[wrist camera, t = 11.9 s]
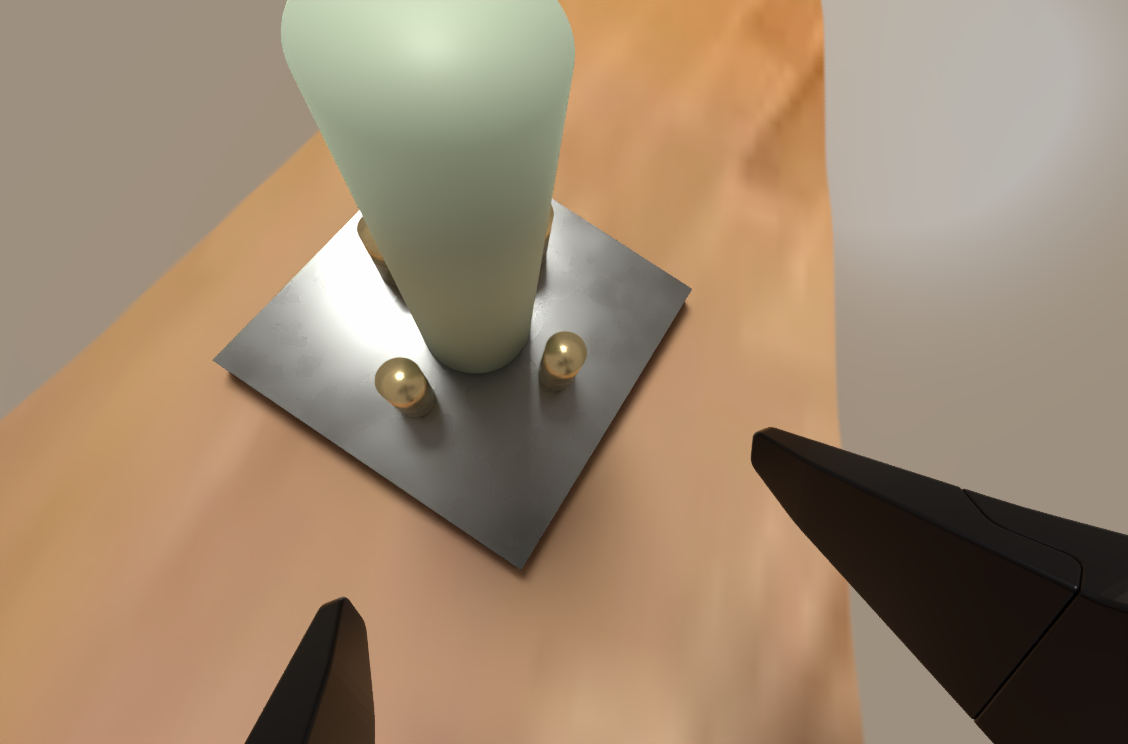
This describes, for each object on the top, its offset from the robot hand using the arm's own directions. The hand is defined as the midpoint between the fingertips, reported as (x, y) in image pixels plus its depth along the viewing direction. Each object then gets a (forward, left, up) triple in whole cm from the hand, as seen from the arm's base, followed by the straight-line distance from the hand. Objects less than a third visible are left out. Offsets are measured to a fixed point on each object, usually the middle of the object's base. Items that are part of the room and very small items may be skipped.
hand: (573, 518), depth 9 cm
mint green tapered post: (+6, -5, -8) cm, 11 cm away
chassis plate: (+6, -5, -9) cm, 12 cm away
